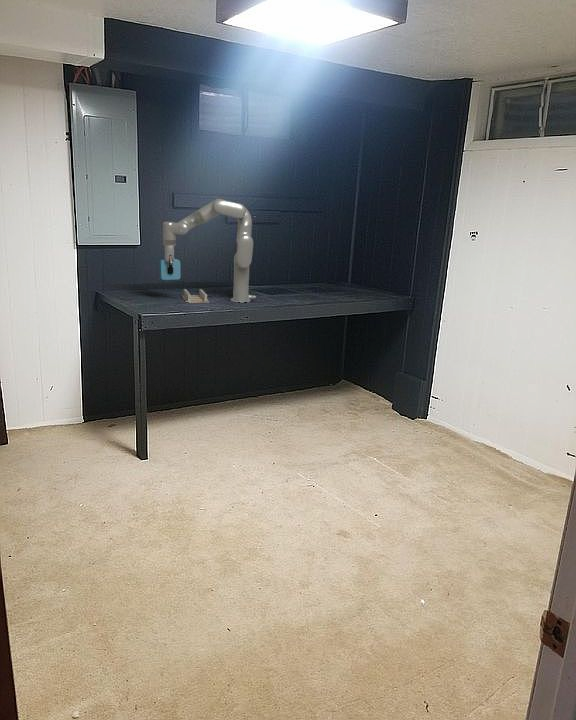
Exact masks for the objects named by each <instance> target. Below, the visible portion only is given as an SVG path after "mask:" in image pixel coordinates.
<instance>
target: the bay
mask: <svg viewBox="0 0 576 720" xmlns="http://www.w3.org/2000/svg"><path fill="white" fill-rule="evenodd" d="M181 297H183V298H182V299H183V300H185V301H184V302H185V303H186V302H189V304H190V303H191V304H194V303H195V304H197V303H198V304H201V303H202V304H207V303H208V304H209V303H210V301H209V300H208V294H207V293H206V292H205V291H204V289H202V288H201V289H200V288H199V293H198V295H197V294H195V295H194V294H193V295H192V294H191V293H190V292H189V291H188V290H187V289H186V288H183V295H181Z"/></svg>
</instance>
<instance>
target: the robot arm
mask: <svg viewBox="0 0 576 720" xmlns="http://www.w3.org/2000/svg"><path fill="white" fill-rule="evenodd" d="M219 215H222V216H226V217H231V218H236V221H237V234H236V247H237V248H236V249H237V250H236V252H235V254H234V256H233V291H232V294H233V295H232V297H231V298H230V302H233V303H238V302H240V303H239V304H242V303H243V304H244V302H247V303H250V302H251V299H256V297H257V296H256V295H253V294H250V293H249V292H250V291H249V288H250V285H249V284H250V282H249V281H250V265H251V263H252V261H253V260H252V259H253V251H254V239H253V237H252V227H253V220H252V216H251V213H250V211H249V210H248V209H247V207H246V206H245V205H244V204H242V203H239V202H234V201H230V200H225V199H222V198H216V199H214V200H213V201H211V202H209V203H207V204H206V205H204V206H201V208H199V209H198V210H195V211H194V212H193V213H191V214H189V215H187V216H186V217H184V218H183V219H181V220H180V221H178V222H174V221H164V222H163V223H162V245H163V246H164V258H163V259H165V260H166V262H167V261H168V274H173V262H174V259H175V246H176V245H177V243H176V242H177V241H176V240H177V239H176V238H177V235H179V236H180V235H181V236H184V235H187V233H188V232H189V231H190V230H193V229H194V228H196V227H198V226H200V225H203V224H205V223H208V222H209V221H211V220H212V219H214V218H216V217H218V216H219ZM169 261H170V262H169Z"/></svg>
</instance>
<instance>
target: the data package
mask: <svg viewBox="0 0 576 720" xmlns="http://www.w3.org/2000/svg"><path fill="white" fill-rule="evenodd" d="M169 262H170V261H169ZM158 266H159V267H158V269H159V279H161V280H162V281H172V280H175V281H176V280H177V281H178V280H180V279H181V277H182V276H181V261H180V260H179V259H177V258H174V262H173V274H168V261H167V262H166V260H165V259H164V258H161V259H159V261H158Z"/></svg>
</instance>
